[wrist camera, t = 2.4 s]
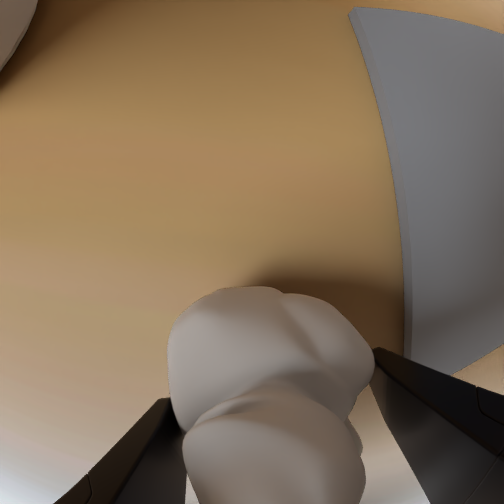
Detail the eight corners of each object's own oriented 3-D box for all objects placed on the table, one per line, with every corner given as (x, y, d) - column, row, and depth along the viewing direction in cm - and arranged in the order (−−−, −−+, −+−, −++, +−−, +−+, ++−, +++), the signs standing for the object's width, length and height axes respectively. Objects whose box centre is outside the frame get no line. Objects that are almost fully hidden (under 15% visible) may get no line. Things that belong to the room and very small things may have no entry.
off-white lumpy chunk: (264, 218, 8) (439, 519, 1) (379, 353, 10) (493, 526, 2) (138, 331, 9) (41, 562, 1) (267, 431, 11) (295, 608, 3)
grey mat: (537, 310, 11) (543, 314, 10) (401, 387, 11) (407, 396, 10) (519, 45, 7) (527, 43, 6) (348, 14, 7) (354, 6, 6)
